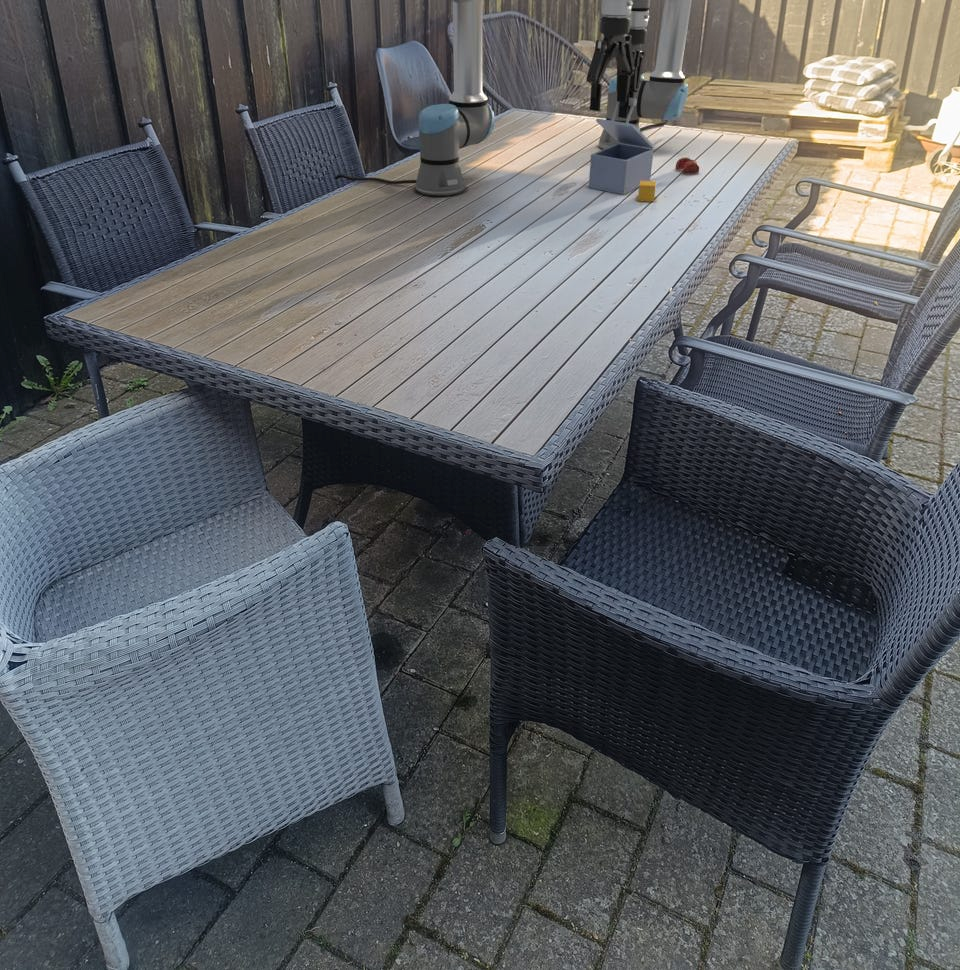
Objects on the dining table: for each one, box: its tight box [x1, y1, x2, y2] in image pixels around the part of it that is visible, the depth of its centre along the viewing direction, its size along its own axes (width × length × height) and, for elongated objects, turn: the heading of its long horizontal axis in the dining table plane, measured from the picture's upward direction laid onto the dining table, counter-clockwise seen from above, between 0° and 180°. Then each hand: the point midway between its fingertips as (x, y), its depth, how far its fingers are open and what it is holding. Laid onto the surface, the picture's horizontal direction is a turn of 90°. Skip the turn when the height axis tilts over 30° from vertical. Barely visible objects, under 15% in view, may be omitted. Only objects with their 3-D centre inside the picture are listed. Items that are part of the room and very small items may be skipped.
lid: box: [595, 98, 655, 150], centre depth 254 cm, size 18×12×9 cm
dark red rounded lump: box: [675, 156, 700, 175], centre depth 273 cm, size 6×4×8 cm
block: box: [637, 180, 657, 203], centre depth 250 cm, size 5×5×5 cm
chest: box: [588, 143, 655, 195], centre depth 260 cm, size 17×12×10 cm
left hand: (608, 106), depth 226 cm, fingers open, 13 cm apart
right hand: (625, 116), depth 251 cm, fingers closed on lid, 2 cm apart
